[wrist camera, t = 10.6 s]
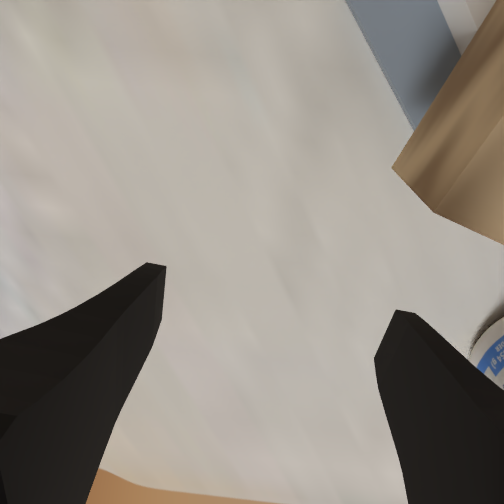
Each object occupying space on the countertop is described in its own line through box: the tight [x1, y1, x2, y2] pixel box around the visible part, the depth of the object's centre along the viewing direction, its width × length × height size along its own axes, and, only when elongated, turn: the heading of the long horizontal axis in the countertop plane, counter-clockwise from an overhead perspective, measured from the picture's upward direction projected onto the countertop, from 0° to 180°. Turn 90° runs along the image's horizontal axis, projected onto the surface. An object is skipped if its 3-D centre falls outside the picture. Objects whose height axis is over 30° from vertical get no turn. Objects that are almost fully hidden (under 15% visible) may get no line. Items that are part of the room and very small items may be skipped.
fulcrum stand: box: [345, 0, 496, 131], centre depth 15 cm, size 10×8×3 cm
